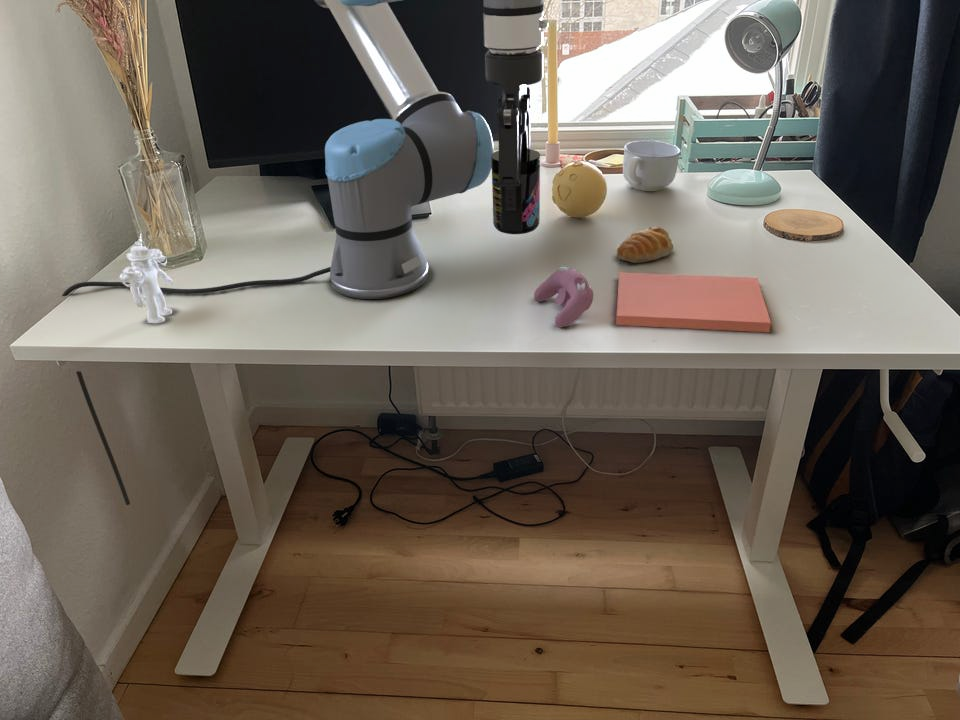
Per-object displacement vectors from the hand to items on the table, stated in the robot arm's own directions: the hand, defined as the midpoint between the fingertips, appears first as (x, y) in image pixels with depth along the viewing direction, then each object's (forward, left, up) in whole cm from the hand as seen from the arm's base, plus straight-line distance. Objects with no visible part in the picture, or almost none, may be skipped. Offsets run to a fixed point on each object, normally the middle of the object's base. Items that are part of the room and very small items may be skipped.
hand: (516, 220), depth 108 cm
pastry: (+19, +15, -11) cm, 27 cm away
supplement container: (0, 0, -1) cm, 1 cm away
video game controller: (+7, -6, -11) cm, 15 cm away
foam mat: (+25, -3, -11) cm, 27 cm away
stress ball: (+7, +32, -11) cm, 35 cm away
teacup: (+19, +48, -11) cm, 53 cm away
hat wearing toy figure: (-51, -14, -11) cm, 54 cm away
